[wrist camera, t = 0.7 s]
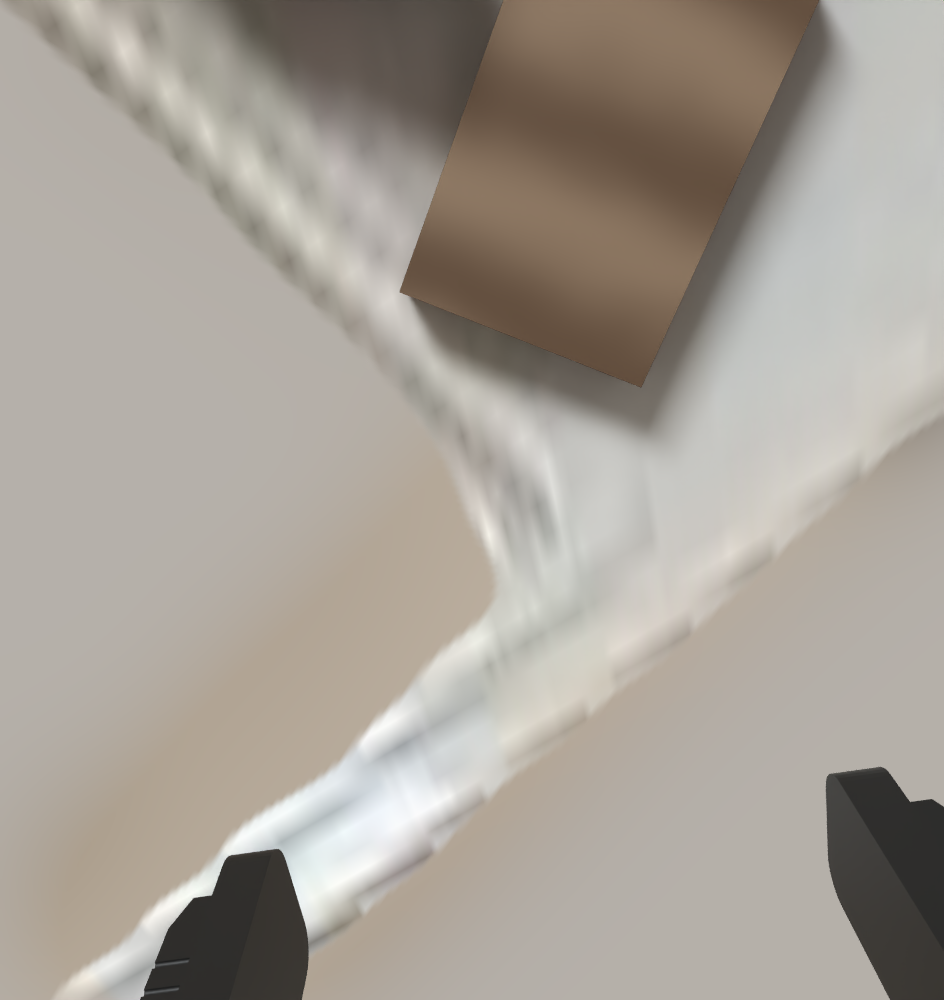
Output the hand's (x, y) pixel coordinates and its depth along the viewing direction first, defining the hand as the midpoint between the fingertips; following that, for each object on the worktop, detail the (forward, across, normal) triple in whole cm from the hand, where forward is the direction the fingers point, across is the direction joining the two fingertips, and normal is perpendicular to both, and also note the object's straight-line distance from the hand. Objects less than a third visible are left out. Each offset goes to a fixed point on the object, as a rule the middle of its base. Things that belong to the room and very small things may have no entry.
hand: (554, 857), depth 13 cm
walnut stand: (+26, -6, -10) cm, 29 cm away
